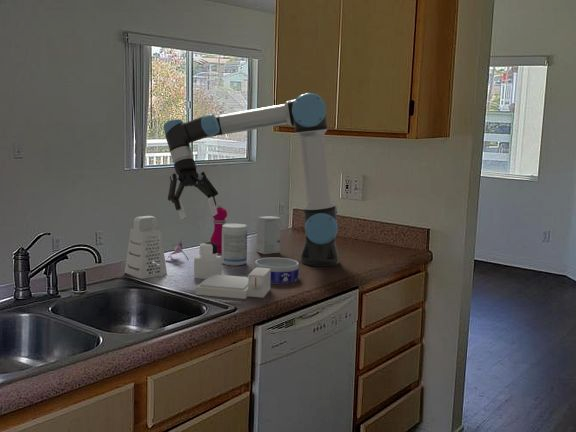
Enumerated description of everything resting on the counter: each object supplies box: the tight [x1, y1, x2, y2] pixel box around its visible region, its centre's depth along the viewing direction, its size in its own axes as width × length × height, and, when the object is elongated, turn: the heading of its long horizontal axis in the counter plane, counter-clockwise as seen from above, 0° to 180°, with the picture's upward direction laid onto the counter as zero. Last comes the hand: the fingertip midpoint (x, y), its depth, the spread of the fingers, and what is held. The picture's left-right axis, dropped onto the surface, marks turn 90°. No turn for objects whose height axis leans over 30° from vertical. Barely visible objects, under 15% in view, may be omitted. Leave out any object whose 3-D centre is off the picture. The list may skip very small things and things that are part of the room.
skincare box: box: [256, 215, 282, 255], centre depth 267 cm, size 8×6×15 cm
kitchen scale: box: [195, 267, 271, 300], centre depth 208 cm, size 21×16×7 cm
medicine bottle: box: [193, 241, 223, 280], centre depth 224 cm, size 7×7×12 cm
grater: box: [124, 215, 168, 280], centre depth 225 cm, size 10×10×20 cm
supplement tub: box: [221, 223, 248, 267], centre depth 245 cm, size 10×10×15 cm
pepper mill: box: [209, 203, 228, 255], centre depth 263 cm, size 7×7×20 cm
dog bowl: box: [254, 257, 300, 285], centre depth 226 cm, size 15×15×6 cm
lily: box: [166, 236, 189, 261], centre depth 249 cm, size 12×12×10 cm
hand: (199, 216), depth 230 cm, fingers open, 13 cm apart
